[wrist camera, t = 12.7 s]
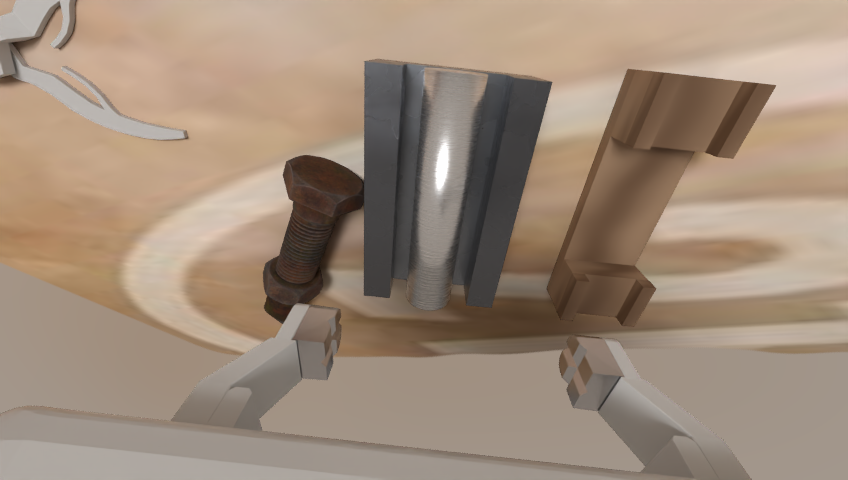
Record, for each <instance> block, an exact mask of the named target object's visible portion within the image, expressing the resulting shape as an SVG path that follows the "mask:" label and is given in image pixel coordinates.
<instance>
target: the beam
mask: <svg viewBox="0 0 848 480" xmlns="http://www.w3.org/2000/svg"><path fill="white" fill-rule="evenodd" d="M775 87H776V85H769V84H760V83H751V82H741V81H732V80H723V79H715V78H706V77H697V76H688V75H680V74H671V73H662V72H652V71H642V70H632V69H628V70H627V73H626V75H625V78H624V81H623V84H622V86H621V89H620V92H619V94H618V97H617V100H616V103H615V105H614V108H613V111H612V113H611V116H610V119H609V121H608V124H607V127H606V130H605V132H604V135H603V138H602V140H601V143H600V146H599V148H598V151H597V154H596V157H595V159H594V162H593V165H592V167H591V170H590V173H589V175H588V178H587V181H586V184H585V186H584V189H583V192H582V194H581V197H580V200H579V203H578V205H577V208H576V211H575V213H574V216H573V219H572V221H571V224H570V227H569V230H568V232H567V235H566V238H565V240H564V243H563V246H562V248H561V251H560V254H559V257H558V259H557V262H556V265H555V267H554V270H553V273H552V275H551V278H550V281H549V284H548V286H547V290H548V293H549V295H550V297H551V299H552V301H553V303H554V306H555V308H556V310H557V313H558V316H559V318H560V320H569V321H573V319H574V316H575V314H576V313H581V314H591V315H601V316H612V317H616V318H617V319H618V321H619V322H620V324H621V325H622V326H631V327H634V326H635V324H636V322H637V321H638V319H639V317H640V316H641V314H642V312H643V310H644V309H645V307H646V305H647V304H648V302H649V300H650V299H651V297H652V295H653V294H654V292H655V290H656V288H655V287H654V286H653V284H652V283H651V282H650V281H648V280H647V279H646V277H645V276H644V275H643V274H642V273H641V272H640V271H639V270H638V269H637V268H636V267H635V264H636V263H637V261H638V259H639V257H640V255H641V253H642V251H643V249H644V247H645V245H646V243H647V242H648V240H649V238H650V236H651V234H652V232H653V230H654V228H655V226H656V224H657V222H658V220H659V219H660V217H661V215H662V213H663V211H664V209H665V207H666V205H667V203H668V201H669V199H670V198H671V196H672V194H673V192H674V190H675V188H676V186H677V184H678V182H679V180H680V178H681V177H682V175H683V173H684V171H685V169H686V167H687V165H688V163H689V161H690V159H691V157H692V156H693V154H694V152H695V151H697V152H705V153H708V154H711V155H713V156H716V157H723V158H732V159H733V158H734V156H735V155H736V153H737V151H738V150H739V148H740V146H741V145H742V143H743V141H744V139H745V138H746V136H747V134H748V133H749V131H750V129H751V128H752V126H753V124H754V123H755V121H756V119H757V117H758V116H759V114H760V112H761V111H762V109H763V107H764V106H765V104H766V102H767V101H768V99H769V97H770V95H771V94H772V92H773V90H774V89H775Z"/></svg>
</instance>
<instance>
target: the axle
mask: <svg viewBox="0 0 848 480" xmlns="http://www.w3.org/2000/svg"><path fill="white" fill-rule="evenodd" d="M487 78H488V74H484V73H478V72H471V71H463V70H454V69H444V68H425V70H424V82H423V94H422V106H421V118H420V131H419V143H418V155H417V167H416V179H415V191H414V204H413V216H412V228H411V240H410V252H409V264H408V277H407V289H406V297H407V299H408V301H409V302H410V303H411V304H412V305H413V306H415V307H417V308H419V309H422V310H438V309H441V308H443V307H445V306H446V305H447V304H448V302H449V299H450V293H451V287H452V282H453V276H454V270H455V264H456V258H457V253H458V247H459V241H460V235H461V229H462V224H463V218H464V212H465V206H466V200H467V195H468V189H469V183H470V177H471V171H472V166H473V160H474V154H475V148H476V142H477V136H478V131H479V125H480V119H481V113H482V107H483V102H484V96H485V90H486V84H487Z"/></svg>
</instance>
